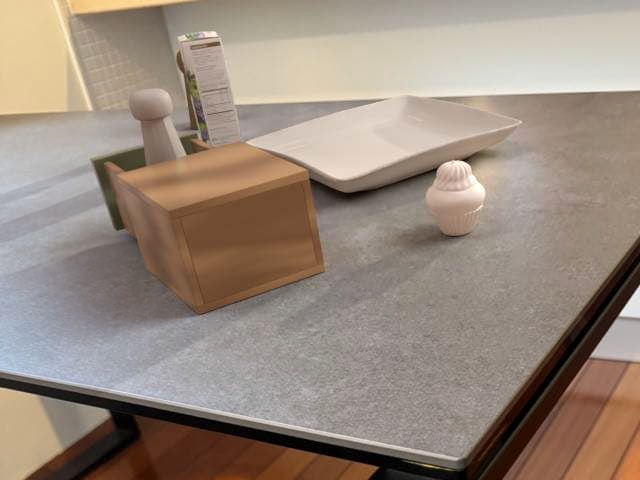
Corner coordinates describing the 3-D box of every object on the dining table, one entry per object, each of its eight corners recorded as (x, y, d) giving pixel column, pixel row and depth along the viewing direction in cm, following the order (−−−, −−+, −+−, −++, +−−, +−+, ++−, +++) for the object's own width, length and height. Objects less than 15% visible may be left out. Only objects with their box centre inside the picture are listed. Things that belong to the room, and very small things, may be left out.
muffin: (499, 225, 84) (496, 154, 80) (460, 245, 81) (455, 173, 77) (455, 216, 88) (450, 147, 83) (416, 234, 85) (409, 164, 80)
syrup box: (201, 146, 122) (173, 35, 113) (240, 139, 123) (215, 28, 114) (206, 156, 118) (177, 41, 108) (246, 148, 119) (220, 33, 109)
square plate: (408, 119, 121) (406, 90, 118) (526, 151, 103) (526, 117, 100) (246, 166, 111) (239, 136, 109) (344, 211, 93) (338, 176, 90)
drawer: (102, 219, 98) (78, 150, 93) (197, 191, 102) (179, 124, 97) (153, 262, 85) (129, 185, 79) (260, 228, 89) (243, 153, 84)
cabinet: (146, 268, 86) (115, 174, 80) (261, 232, 91) (240, 140, 84) (199, 315, 75) (168, 210, 69) (325, 271, 80) (307, 169, 74)
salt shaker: (185, 231, 88) (147, 98, 79) (146, 227, 90) (106, 98, 82) (218, 212, 91) (186, 83, 83) (181, 208, 94) (145, 83, 85)
